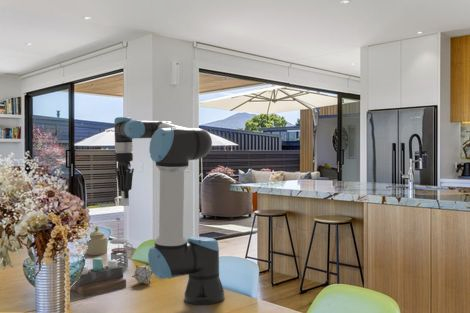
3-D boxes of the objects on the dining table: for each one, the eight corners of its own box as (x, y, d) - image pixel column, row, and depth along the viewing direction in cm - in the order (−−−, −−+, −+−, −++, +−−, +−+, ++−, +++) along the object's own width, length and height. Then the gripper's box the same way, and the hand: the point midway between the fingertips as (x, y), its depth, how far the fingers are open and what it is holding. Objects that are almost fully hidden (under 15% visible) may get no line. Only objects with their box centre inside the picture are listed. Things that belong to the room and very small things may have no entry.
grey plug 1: (89, 281, 189) (89, 266, 189) (80, 283, 186) (79, 268, 186) (85, 279, 192) (85, 264, 192) (76, 281, 189) (75, 266, 189)
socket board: (127, 286, 194) (127, 268, 194) (82, 296, 182) (82, 277, 181) (112, 279, 205) (112, 262, 205) (69, 289, 192) (68, 271, 192)
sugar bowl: (79, 252, 261) (78, 225, 261) (97, 248, 269) (96, 223, 269) (93, 256, 251) (92, 228, 250) (111, 252, 259) (110, 225, 258)
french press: (107, 268, 224) (105, 217, 223) (131, 265, 229) (129, 215, 228) (110, 273, 215) (109, 219, 214) (135, 270, 220) (134, 217, 219)
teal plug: (104, 273, 193) (104, 258, 193) (95, 275, 190) (95, 260, 190) (100, 271, 196) (100, 257, 196) (91, 273, 193) (91, 258, 193)
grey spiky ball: (138, 293, 197) (123, 274, 197) (150, 280, 204) (136, 263, 204) (150, 285, 192) (135, 267, 192) (162, 273, 199) (147, 255, 199)
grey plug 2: (119, 274, 197) (118, 260, 197) (110, 276, 195) (110, 262, 194) (115, 273, 200) (114, 259, 200) (106, 274, 198) (105, 260, 197)
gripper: (138, 152, 202) (140, 206, 203) (124, 152, 212) (126, 203, 213) (123, 152, 198) (124, 207, 198) (109, 152, 207) (110, 205, 208)
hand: (125, 205), depth 205 cm, fingers closed
